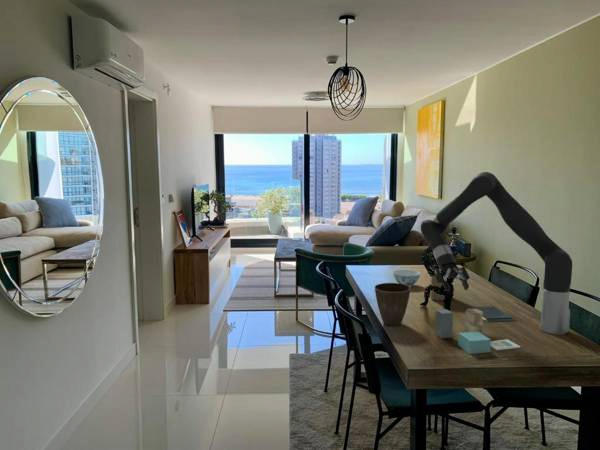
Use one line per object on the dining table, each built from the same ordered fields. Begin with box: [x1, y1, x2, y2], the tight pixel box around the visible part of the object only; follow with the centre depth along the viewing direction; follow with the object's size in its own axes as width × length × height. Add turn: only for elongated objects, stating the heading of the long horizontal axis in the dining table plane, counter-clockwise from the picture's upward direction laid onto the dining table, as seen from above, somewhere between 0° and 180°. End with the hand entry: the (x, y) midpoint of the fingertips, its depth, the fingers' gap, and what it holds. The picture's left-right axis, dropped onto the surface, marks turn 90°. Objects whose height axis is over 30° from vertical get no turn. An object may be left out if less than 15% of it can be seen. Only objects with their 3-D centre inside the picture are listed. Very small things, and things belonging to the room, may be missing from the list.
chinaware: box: [392, 269, 421, 288], centre depth 247 cm, size 15×15×8 cm
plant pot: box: [374, 282, 411, 327], centre depth 186 cm, size 15×15×16 cm
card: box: [490, 339, 521, 351], centre depth 163 cm, size 10×7×1 cm
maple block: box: [464, 309, 484, 334], centre depth 173 cm, size 4×4×10 cm
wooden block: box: [430, 276, 444, 302], centre depth 222 cm, size 10×10×20 cm
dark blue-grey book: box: [464, 305, 517, 323], centre depth 198 cm, size 20×2×15 cm
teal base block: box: [457, 331, 492, 355], centre depth 160 cm, size 8×8×5 cm
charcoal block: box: [435, 309, 454, 339], centre depth 172 cm, size 4×4×10 cm
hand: (457, 289), depth 183 cm, fingers open, 8 cm apart
